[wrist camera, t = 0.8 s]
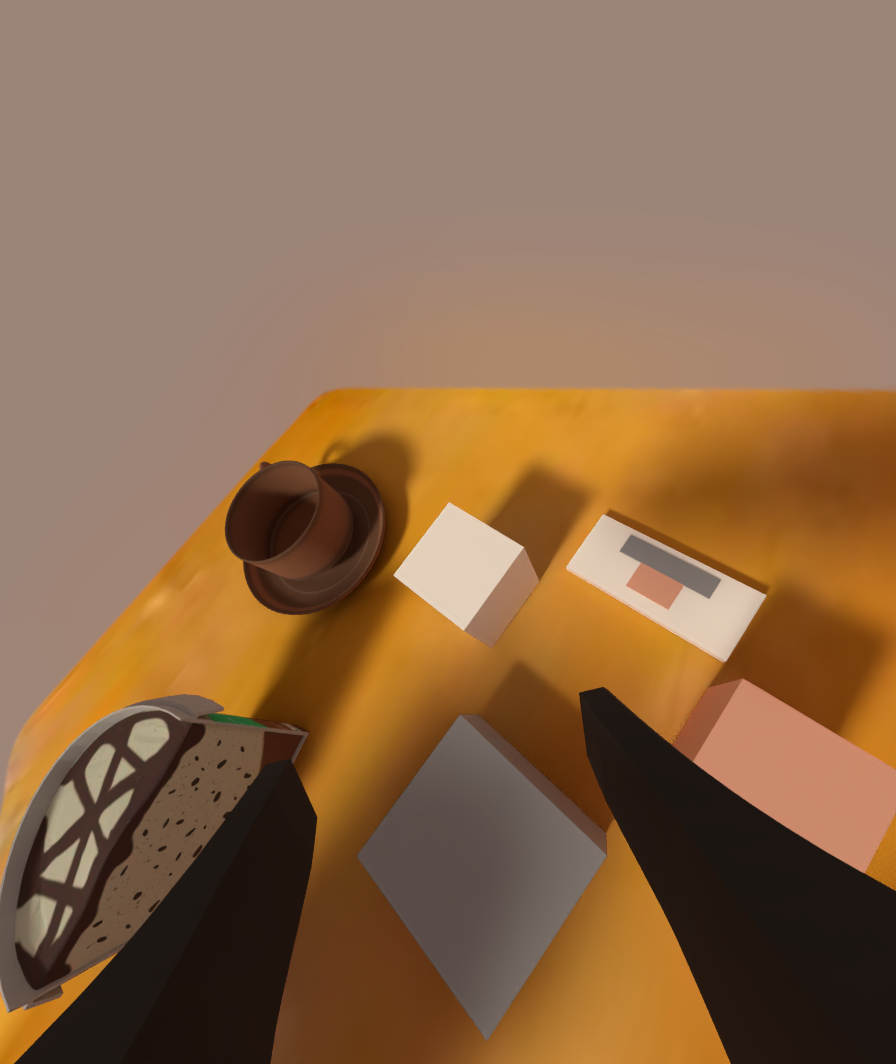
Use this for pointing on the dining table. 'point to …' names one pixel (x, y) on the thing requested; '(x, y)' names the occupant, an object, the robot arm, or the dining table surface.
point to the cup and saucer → (305, 533)
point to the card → (667, 586)
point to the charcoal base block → (483, 865)
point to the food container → (121, 832)
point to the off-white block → (470, 574)
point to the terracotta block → (792, 769)
